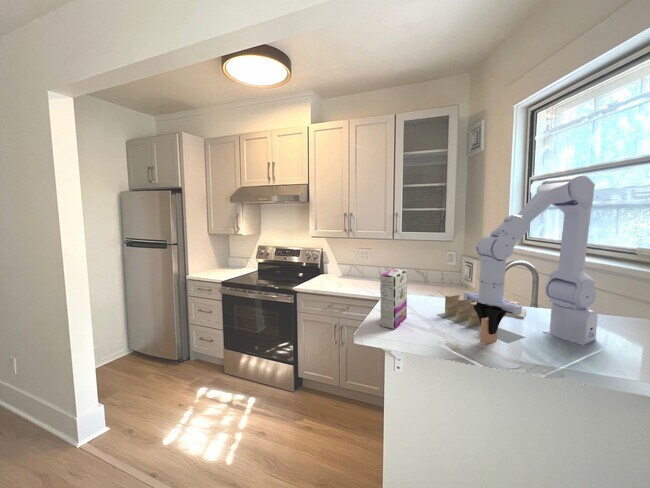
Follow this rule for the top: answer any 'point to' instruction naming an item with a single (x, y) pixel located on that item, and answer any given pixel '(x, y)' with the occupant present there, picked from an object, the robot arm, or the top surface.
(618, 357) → the top surface
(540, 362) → the top surface
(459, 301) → the domino
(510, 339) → the slate mat
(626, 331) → the top surface
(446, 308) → the domino
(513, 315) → the packaged product
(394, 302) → the candy bar box
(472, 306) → the domino
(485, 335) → the domino
